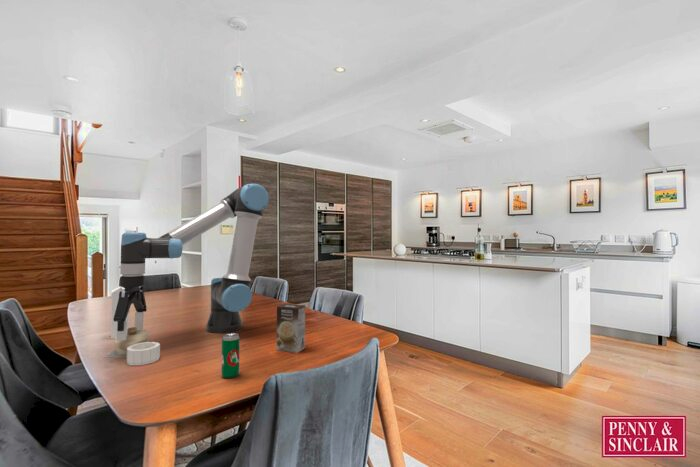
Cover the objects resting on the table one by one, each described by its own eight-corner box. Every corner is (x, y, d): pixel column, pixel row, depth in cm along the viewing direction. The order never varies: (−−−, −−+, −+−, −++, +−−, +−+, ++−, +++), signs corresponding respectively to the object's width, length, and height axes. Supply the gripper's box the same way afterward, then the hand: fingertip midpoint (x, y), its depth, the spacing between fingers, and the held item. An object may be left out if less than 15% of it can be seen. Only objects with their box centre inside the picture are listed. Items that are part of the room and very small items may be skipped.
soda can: (224, 372, 102) (224, 332, 103) (241, 371, 103) (241, 332, 103) (219, 379, 97) (219, 337, 98) (237, 378, 98) (237, 337, 98)
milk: (111, 340, 134) (111, 284, 135) (110, 336, 139) (110, 283, 139) (129, 337, 138) (129, 283, 138) (128, 333, 143) (128, 281, 143)
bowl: (163, 355, 116) (163, 341, 117) (153, 365, 108) (153, 349, 108) (134, 357, 115) (134, 342, 115) (121, 367, 106) (121, 351, 106)
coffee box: (275, 350, 123) (275, 306, 123) (284, 345, 129) (284, 303, 129) (297, 353, 120) (298, 308, 120) (305, 347, 126) (306, 304, 126)
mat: (156, 345, 127) (156, 344, 127) (143, 356, 116) (143, 355, 116) (121, 347, 125) (121, 346, 125) (104, 358, 113) (104, 357, 113)
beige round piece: (152, 345, 126) (152, 324, 126) (141, 354, 117) (141, 331, 117) (122, 347, 124) (123, 325, 125) (108, 356, 115) (109, 332, 115)
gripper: (136, 272, 132) (134, 326, 132) (102, 279, 108) (99, 345, 107) (157, 272, 134) (155, 325, 133) (128, 279, 109) (126, 344, 109)
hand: (130, 334), depth 120 cm, fingers open, 13 cm apart
